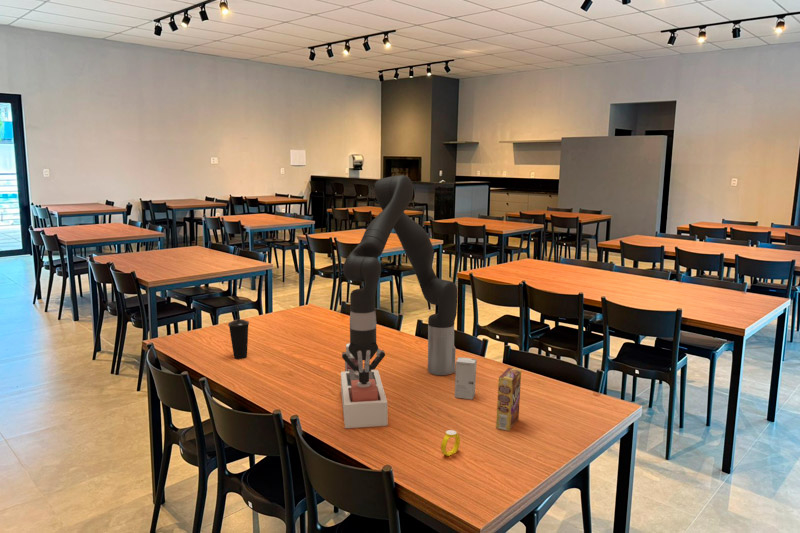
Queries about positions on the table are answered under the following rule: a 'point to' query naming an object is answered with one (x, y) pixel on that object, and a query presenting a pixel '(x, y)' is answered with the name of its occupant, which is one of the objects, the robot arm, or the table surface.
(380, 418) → the frame
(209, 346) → the table surface
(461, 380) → the skincare box
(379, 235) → the robot arm
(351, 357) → the pill bottle
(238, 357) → the drinking cup
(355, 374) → the grey button block
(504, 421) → the candy box
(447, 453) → the watch
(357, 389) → the red button block
